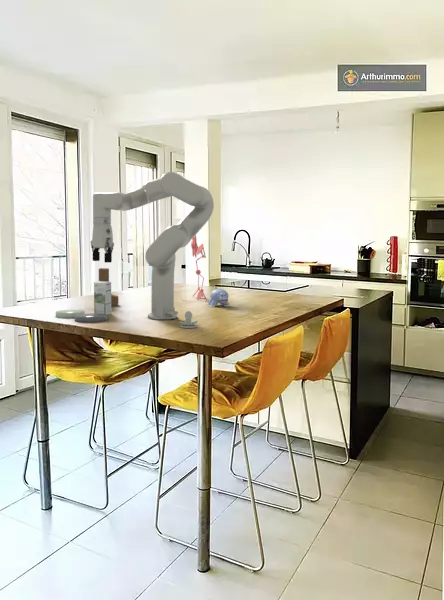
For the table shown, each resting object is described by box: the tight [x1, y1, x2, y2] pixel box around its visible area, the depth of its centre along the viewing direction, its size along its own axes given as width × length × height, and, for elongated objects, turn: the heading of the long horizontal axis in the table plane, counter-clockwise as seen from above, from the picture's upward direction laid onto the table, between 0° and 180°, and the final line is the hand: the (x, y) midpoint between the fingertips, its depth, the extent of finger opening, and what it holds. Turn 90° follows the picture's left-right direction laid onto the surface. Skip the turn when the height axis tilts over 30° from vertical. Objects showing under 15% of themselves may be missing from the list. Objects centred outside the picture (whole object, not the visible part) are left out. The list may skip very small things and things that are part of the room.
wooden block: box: [98, 267, 119, 307], centre depth 258 cm, size 9×4×18 cm, turn 96°
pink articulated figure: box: [182, 234, 207, 302], centre depth 286 cm, size 15×26×35 cm, turn 12°
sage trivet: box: [55, 309, 86, 319], centre depth 228 cm, size 12×12×2 cm
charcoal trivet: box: [74, 312, 108, 324], centre depth 219 cm, size 13×13×2 cm
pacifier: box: [178, 310, 198, 329], centre depth 208 cm, size 7×6×6 cm
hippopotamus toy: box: [206, 285, 231, 308], centre depth 264 cm, size 11×15×10 cm
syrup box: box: [93, 280, 112, 316], centre depth 232 cm, size 6×6×14 cm
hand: (102, 261), depth 230 cm, fingers open, 9 cm apart
